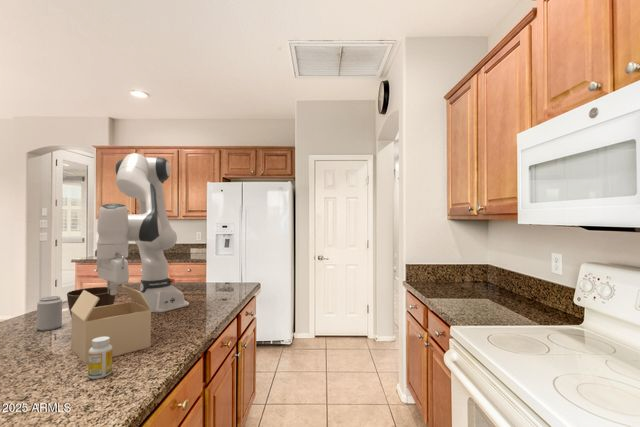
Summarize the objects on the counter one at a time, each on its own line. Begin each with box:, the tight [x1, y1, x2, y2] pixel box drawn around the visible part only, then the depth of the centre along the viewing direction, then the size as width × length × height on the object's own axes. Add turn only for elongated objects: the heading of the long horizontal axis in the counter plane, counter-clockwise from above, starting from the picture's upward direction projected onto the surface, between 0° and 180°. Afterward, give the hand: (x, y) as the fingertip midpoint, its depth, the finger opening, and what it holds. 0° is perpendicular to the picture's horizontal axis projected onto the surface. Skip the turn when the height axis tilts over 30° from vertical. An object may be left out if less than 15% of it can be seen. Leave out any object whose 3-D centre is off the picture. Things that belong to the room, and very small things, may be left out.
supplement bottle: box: [87, 336, 113, 380], centre depth 89 cm, size 5×5×10 cm
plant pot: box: [66, 286, 116, 319], centre depth 121 cm, size 15×15×16 cm
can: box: [36, 295, 63, 332], centre depth 129 cm, size 8×8×12 cm
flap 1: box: [71, 290, 100, 321], centre depth 104 cm, size 7×17×1 cm
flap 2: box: [121, 284, 152, 309], centre depth 115 cm, size 7×17×1 cm
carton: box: [70, 300, 152, 365], centre depth 109 cm, size 18×18×12 cm
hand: (112, 294), depth 109 cm, fingers closed
